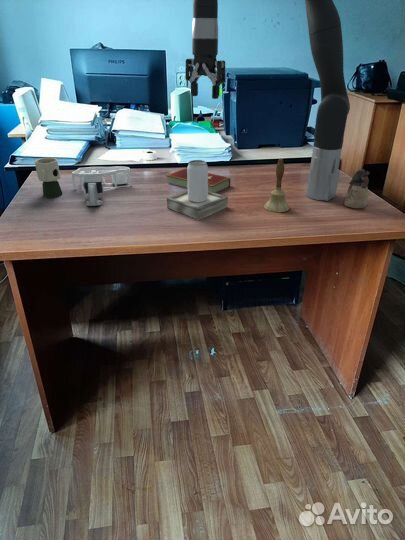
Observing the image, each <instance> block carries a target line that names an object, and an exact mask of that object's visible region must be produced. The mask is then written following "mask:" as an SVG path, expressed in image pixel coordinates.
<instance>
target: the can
mask: <svg viewBox="0 0 405 540" xmlns="http://www.w3.org/2000/svg"><path fill="white" fill-rule="evenodd" d="M208 173H209V166H208V164H207V161H206V160H202V159H193V160H190V161H188V165H187V182H188V188H187V190H188V199H189V201H191V202H195V203H200V202H205V201H206V200H207V199H208Z"/></svg>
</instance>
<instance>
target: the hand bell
mask: <svg viewBox="0 0 405 540" xmlns="http://www.w3.org/2000/svg"><path fill="white" fill-rule="evenodd" d="M284 173H285V163H284V159H283V158H279V159H278V161H277V164H276V167H275V176H276V184H275V189H273V190H271V192H270V196H269V199H268V201H267V202H266V203H265V204H264V205H263V207H264V210H266V211H268V212H270V213H271V212H272V213H285V212H288V211H289V210H290V205H289V204H288V203H287V200H286V192H285V191H284V190H282V182H283V181H282V179H283V176H284Z"/></svg>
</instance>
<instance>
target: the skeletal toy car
mask: <svg viewBox="0 0 405 540" xmlns="http://www.w3.org/2000/svg"><path fill="white" fill-rule="evenodd" d="M108 176H111V183H109V185H114V186H112V187H111V186H108V187H105V186H103V192H104V191H111V190H115V189H118V188H129V187H131V186H132V179H131V168H130V167H128V166H121V165H120V166H117V165H116V166H89V167H87V166H86V167H78V168H77V169H76V170H74V171H71V178H72V183H73V184H72V185H73V189H74V190H77V183H76V178H75V177H78V178H79V180H80V187H81V191H82V192H85V186H84V177H101V179H102V185H108V182H107V183H106V177H108ZM123 184H124V185H123ZM118 185H119V186H118ZM120 185H121V186H120Z"/></svg>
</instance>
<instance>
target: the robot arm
mask: <svg viewBox="0 0 405 540" xmlns="http://www.w3.org/2000/svg"><path fill="white" fill-rule="evenodd" d="M218 1H219V0H192V24H191V25H192V27H191V40H192V42H191V44H192V47H191V49H192V55H193V58H186V59H185V71H184V72H185V73H184V74H185V76H184V78H185V80H186V81H188V82H189V83H190V93H191V97H197V96H199V95H198V94H199V83H198V81H199V79H200V77H202V76H204V77H207V78H208V79H209V80H210V82H211V83H212V87H211V88H212V89H211V90H212V91H211V98H212V99H213V100H217V99H219V97H220V89H221V88H220V87H221V85H222V84H225V83H226V60H218V59H217V55H218V54H219V53H218V52H219V21H218V20H219V19H218V18H219V17H218V15H219V14H218V13H219V12H218V10H219V8H218V7H219V6H218V5H219V2H218ZM304 2H305V3H304V4H305V11H306V21H307V28H308V38H309V44H310V45H309V46H310V51H311V56H312V60H313V63H314V66H315V69H316V72H317V74H318V78H319V87H320V104H319V105H318V107H317V112H316V118H315V125H314V133H313V135H314V136H313V145H312V146H313V147H312V153H311V161H310V167H309V173H308V174H309V175H308V180H307V187H306V194H305V195H306V196H307V197H308V198H310V199H312V200H315V201H316V200H317V201H326V202H329V201H331V200H332V199H335V197H336V196H337V195H336V194H337V190H338V186H339V185H338V184H339V180H340V179H339V178H340V173H341V170H340V169H339V166H340V162H341V161H340V160H341V155H342V150H343V146H344V140H345V139H344V137H345V132H346V131H345V130H346V125H347V120H348V115H349V113H350V109H351V104H350V100H349V95H348V91H347V87H346V81H345V72H344V43H343V42H344V41H343V31H342V21H341V17H340V15H339V11H338V9H337V6H336V4H335V3H334V0H304Z"/></svg>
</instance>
